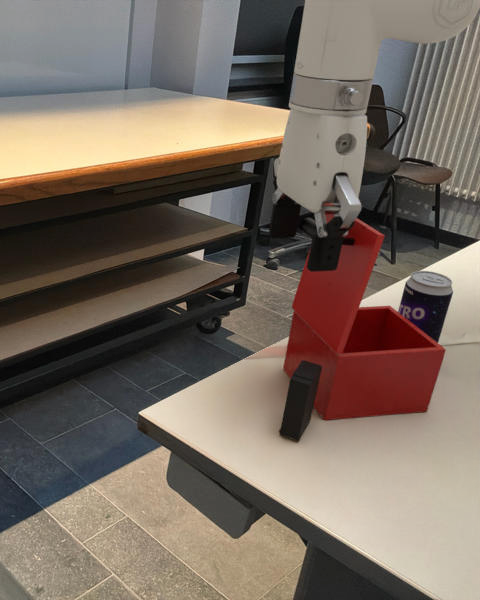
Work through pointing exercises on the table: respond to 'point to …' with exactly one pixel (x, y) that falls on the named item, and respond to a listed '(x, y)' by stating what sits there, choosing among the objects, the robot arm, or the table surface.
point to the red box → (369, 365)
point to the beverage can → (427, 301)
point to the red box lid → (337, 283)
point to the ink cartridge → (300, 400)
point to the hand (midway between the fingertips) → (300, 252)
